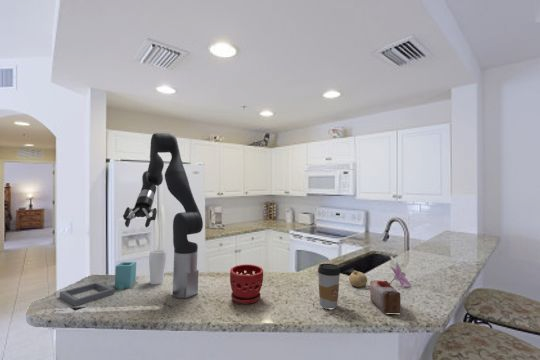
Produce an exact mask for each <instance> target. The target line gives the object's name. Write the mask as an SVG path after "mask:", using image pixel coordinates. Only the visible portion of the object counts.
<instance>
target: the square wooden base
mask: <svg viewBox="0 0 540 360" xmlns="http://www.w3.org/2000/svg"><path fill="white" fill-rule="evenodd" d="M138 283H139V281H136V282H135V284H134V285H133V286H132V287H131V288H124V289H123V290H132V289H133V288H134V287H136V286H137V284H138ZM112 288H113V289H114V290H118V288H115V285H114V286H113V287H112Z"/></svg>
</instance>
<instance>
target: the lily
mask: <svg viewBox="0 0 540 360" xmlns="http://www.w3.org/2000/svg"><path fill="white" fill-rule="evenodd" d="M389 267H390V269H391V271H392V272H393V274H394V276H393V279H392V280H391V281H390V282H389V283H390V285H391V284H392V283H393V282H394V281H397V282H399V283H400V287H402V288H401V289H402V290H403V289H404V290H405V285H407V286H408V287H410V288H412V285H411V283H410V281H409V280H408V279H407V278H406V276H407V274H406V272H404V271H402V268H401V266H400V264H399V263H398V262H397V261H396V262H395V267H393V266H391V265H389Z"/></svg>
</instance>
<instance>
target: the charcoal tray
mask: <svg viewBox="0 0 540 360" xmlns="http://www.w3.org/2000/svg"><path fill="white" fill-rule="evenodd" d="M95 289H96V290H98V292H96V293H92V294H88V295H85V296H82V297H76V296H74V295H78V294H81V293H85V292H89V291H92V290H95ZM114 294H115V289H113V287H110V286H108V285H106V284H103V283H101V282H99V281H97V282H92V283H89V284H84V285H80V286H77V287H74V288H70V289H66V290H65V289H64V290H62V291H59V298H60V299H61V300H63V301H65V302H66V303H68V304H70V305H72V306H74V307H70V309H71V310H73V311H75V312H76V311H78V310H82V309H85V308H86V306H81V305H85V304H88V303H91V302H93V301H94V302H95V301H97V300H101V299H103V298H106V297H110V296H113V295H114ZM80 306H81V307H80Z"/></svg>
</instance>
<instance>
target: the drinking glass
mask: <svg viewBox="0 0 540 360" xmlns="http://www.w3.org/2000/svg"><path fill="white" fill-rule="evenodd" d="M148 257H149V258H148V261H149V263H148V264H149V283H150V285H159V284H163V282H164V278H165V277H164V276H165V269H166V259H167V251H166V250H165V249H153V250H150V251H149V256H148Z"/></svg>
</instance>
